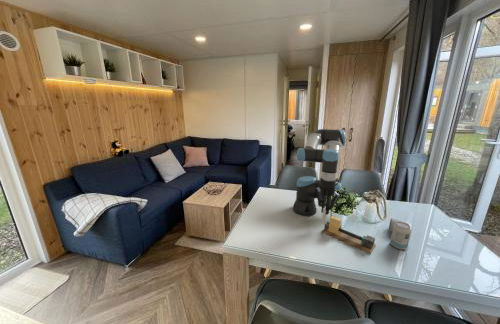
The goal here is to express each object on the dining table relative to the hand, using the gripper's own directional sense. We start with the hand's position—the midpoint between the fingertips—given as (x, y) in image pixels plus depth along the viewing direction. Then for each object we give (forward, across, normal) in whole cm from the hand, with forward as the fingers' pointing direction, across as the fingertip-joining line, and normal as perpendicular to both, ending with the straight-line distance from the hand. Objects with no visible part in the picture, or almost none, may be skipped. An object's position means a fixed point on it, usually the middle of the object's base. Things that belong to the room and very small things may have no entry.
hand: (324, 218), depth 113 cm
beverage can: (+7, +33, +13) cm, 36 cm away
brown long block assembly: (+7, +13, 0) cm, 15 cm away
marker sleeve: (+5, +6, 0) cm, 8 cm away
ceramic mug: (+7, +30, +26) cm, 40 cm away
